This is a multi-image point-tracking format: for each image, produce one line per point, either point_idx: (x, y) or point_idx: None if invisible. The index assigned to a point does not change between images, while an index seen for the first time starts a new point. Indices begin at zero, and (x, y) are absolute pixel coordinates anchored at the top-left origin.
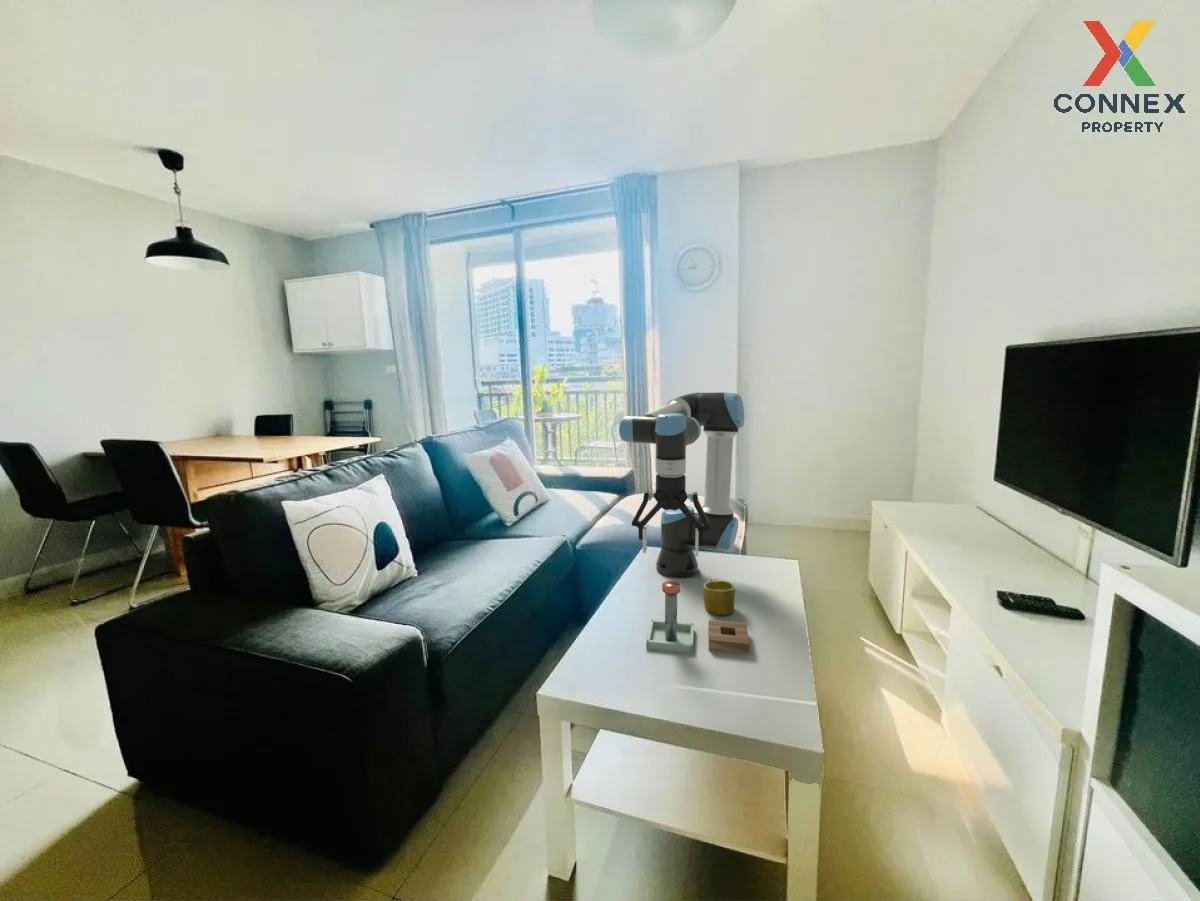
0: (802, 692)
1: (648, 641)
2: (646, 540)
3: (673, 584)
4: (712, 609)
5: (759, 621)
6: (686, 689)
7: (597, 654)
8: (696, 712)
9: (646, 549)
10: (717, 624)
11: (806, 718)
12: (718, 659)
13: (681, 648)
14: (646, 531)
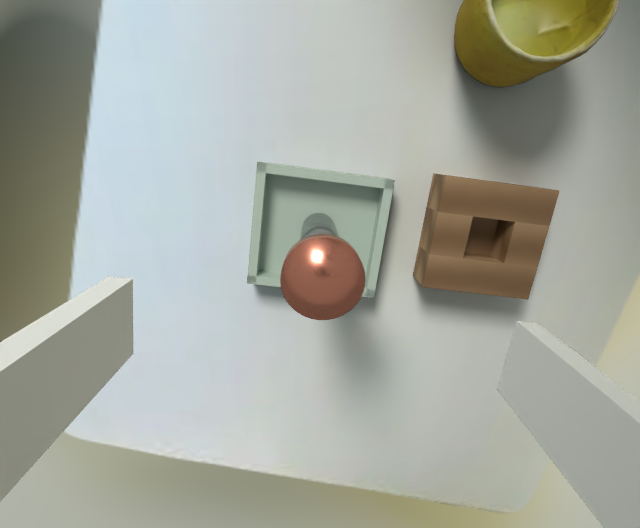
0: None
1: (253, 283)
2: (86, 331)
3: (333, 277)
4: (476, 73)
5: (609, 104)
6: (340, 404)
7: None
8: (352, 459)
9: (129, 301)
10: (467, 204)
11: (546, 458)
12: (430, 303)
13: None
14: (16, 379)
